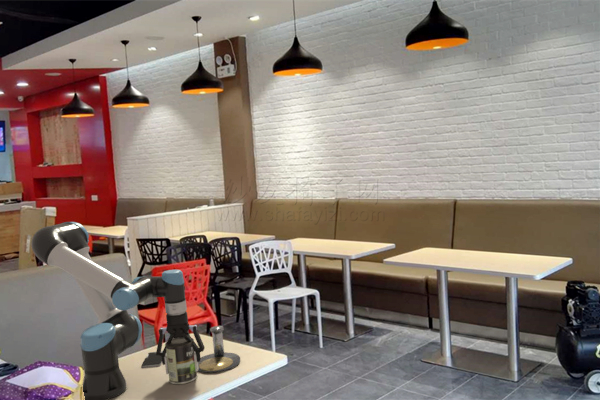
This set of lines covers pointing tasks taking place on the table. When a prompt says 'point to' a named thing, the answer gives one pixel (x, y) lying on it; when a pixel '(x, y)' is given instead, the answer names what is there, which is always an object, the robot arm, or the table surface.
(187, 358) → the coffee can
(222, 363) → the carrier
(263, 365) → the table surface
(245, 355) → the table surface
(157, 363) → the smartphone
